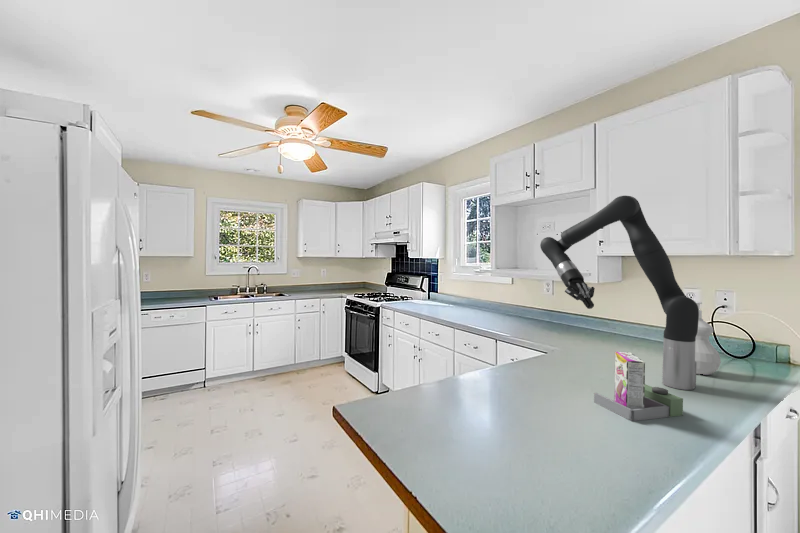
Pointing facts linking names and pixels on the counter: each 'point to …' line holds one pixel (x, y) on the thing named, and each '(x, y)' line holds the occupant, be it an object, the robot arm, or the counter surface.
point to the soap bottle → (705, 348)
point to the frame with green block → (646, 405)
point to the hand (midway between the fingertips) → (591, 307)
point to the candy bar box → (629, 380)
